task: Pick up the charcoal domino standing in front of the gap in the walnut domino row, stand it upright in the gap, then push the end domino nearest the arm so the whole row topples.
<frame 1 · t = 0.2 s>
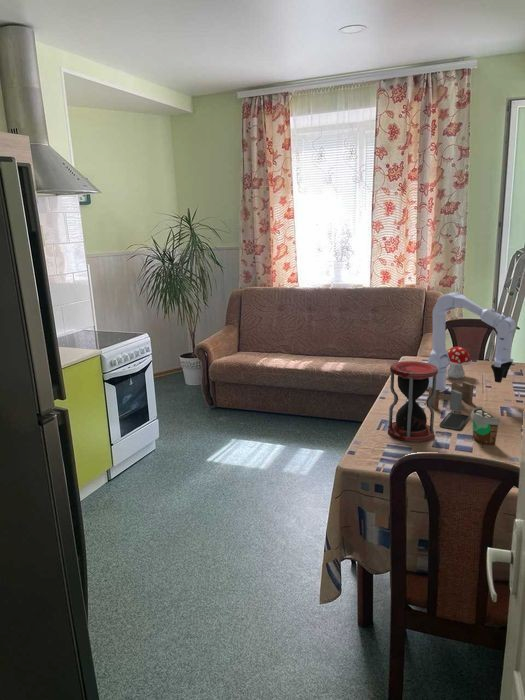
hand: (500, 379, 211), 10 cm above the table, tool pointing down, fingers open, 7 cm apart
hourglass: (410, 433, 186), on the table
domino 2: (455, 403, 215), on the table
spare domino: (455, 410, 207), on the table
food container: (479, 440, 179), on the table
decorative mushroom: (455, 377, 250), on the table
phone: (454, 423, 195), on the table
domino 1: (466, 401, 216), on the table
domino 4: (433, 406, 211), on the table
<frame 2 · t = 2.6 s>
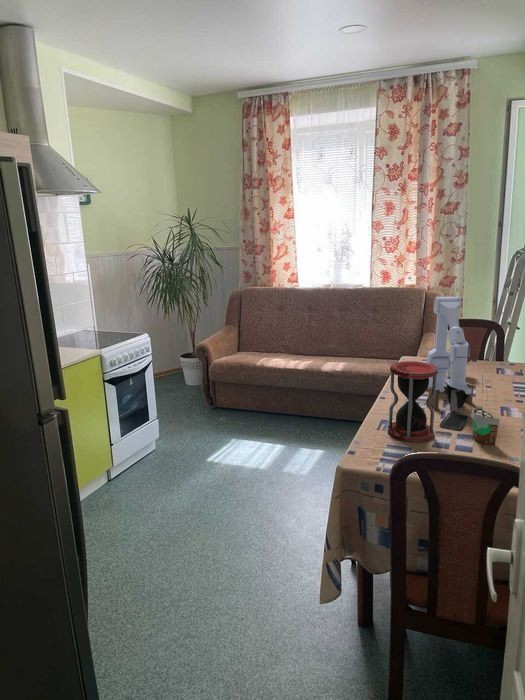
hand: (455, 405, 206), 2 cm above the table, tool pointing down, fingers closed on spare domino, 5 cm apart
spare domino: (455, 410, 207), on the table, touching gripper
everything else where it was.
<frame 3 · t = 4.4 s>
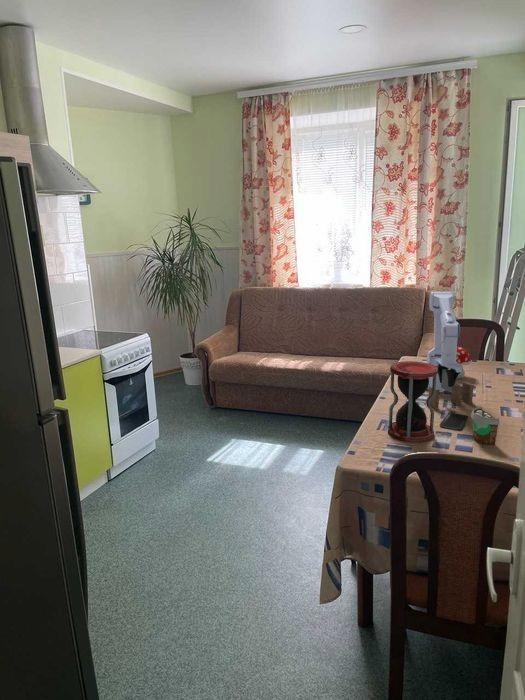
hand: (446, 384, 210), 9 cm above the table, tool pointing down, fingers closed on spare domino, 5 cm apart
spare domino: (446, 389, 211), point 7 cm above the table, touching gripper
everything else where it was.
when the fingers open (3 cm above the table, at t = 6.4 s): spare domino drops 1 cm, on the table.
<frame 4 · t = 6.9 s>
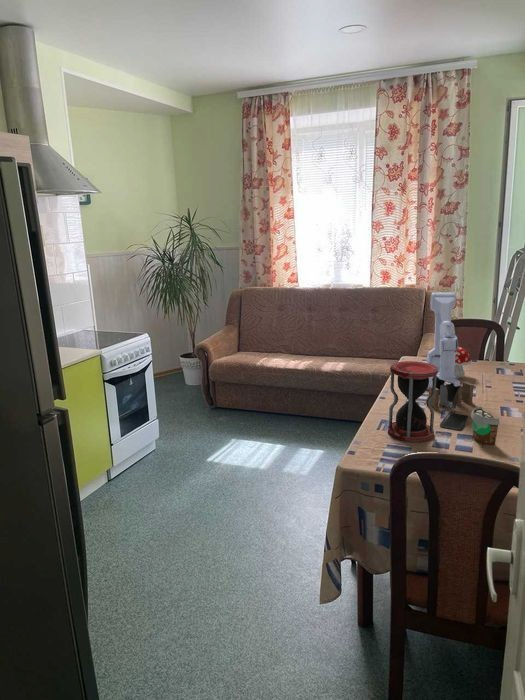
hand: (444, 397, 212), 3 cm above the table, tool pointing down, fingers open, 7 cm apart
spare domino: (444, 404, 213), on the table
everything else where it was.
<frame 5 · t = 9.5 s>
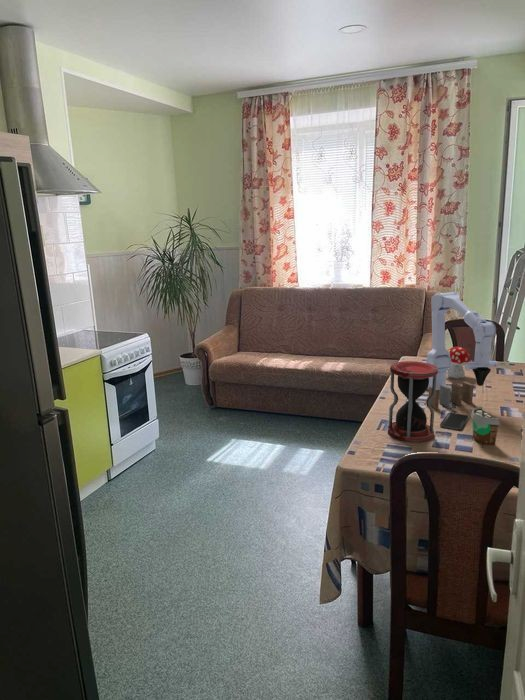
hand: (479, 385, 207), 9 cm above the table, tool pointing down, fingers closed
nothing on the table moved.
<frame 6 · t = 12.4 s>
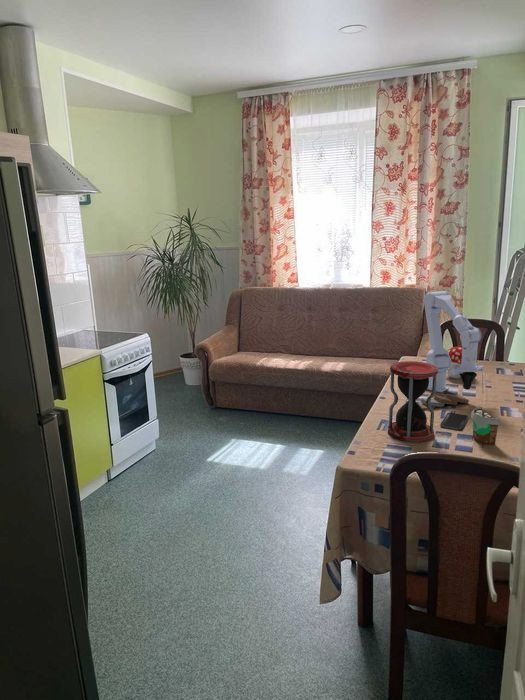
hand: (466, 388, 215), 6 cm above the table, tool pointing down, fingers closed
domino 2: (453, 401, 214), point 1 cm above the table, tilted 74°, touching domino 1
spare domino: (440, 403, 212), point 1 cm above the table, tilted 79°, touching domino 4
domino 1: (464, 400, 216), point 1 cm above the table, tilted 74°, touching domino 2
domino 4: (430, 406, 211), on the table, tilted 90°, touching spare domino
everything else where it was.
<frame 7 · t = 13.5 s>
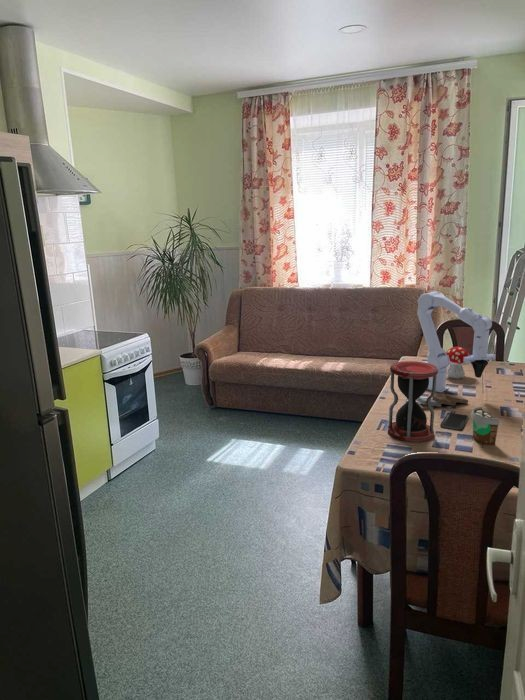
hand: (477, 376, 218), 9 cm above the table, tool pointing down, fingers closed
domino 2: (452, 402, 214), point 1 cm above the table, tilted 75°, touching domino 1, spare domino
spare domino: (438, 403, 212), point 1 cm above the table, tilted 77°, touching domino 2
domino 4: (430, 406, 211), on the table, tilted 90°
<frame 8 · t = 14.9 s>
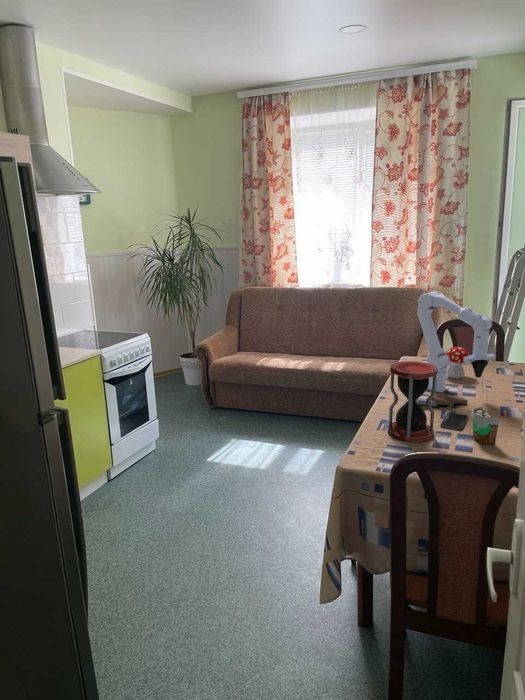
hand: (477, 376, 218), 9 cm above the table, tool pointing down, fingers closed
domino 2: (450, 402, 213), point 1 cm above the table, tilted 74°, touching domino 1, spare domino
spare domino: (434, 403, 212), point 1 cm above the table, tilted 78°, touching domino 2, domino 4
domino 4: (428, 406, 211), on the table, tilted 90°, touching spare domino
at the end: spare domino inside the target area (3.4 cm from its centre), point 1.0 cm above the table; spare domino tilted 78°; domino 4 tilted 90° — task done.
